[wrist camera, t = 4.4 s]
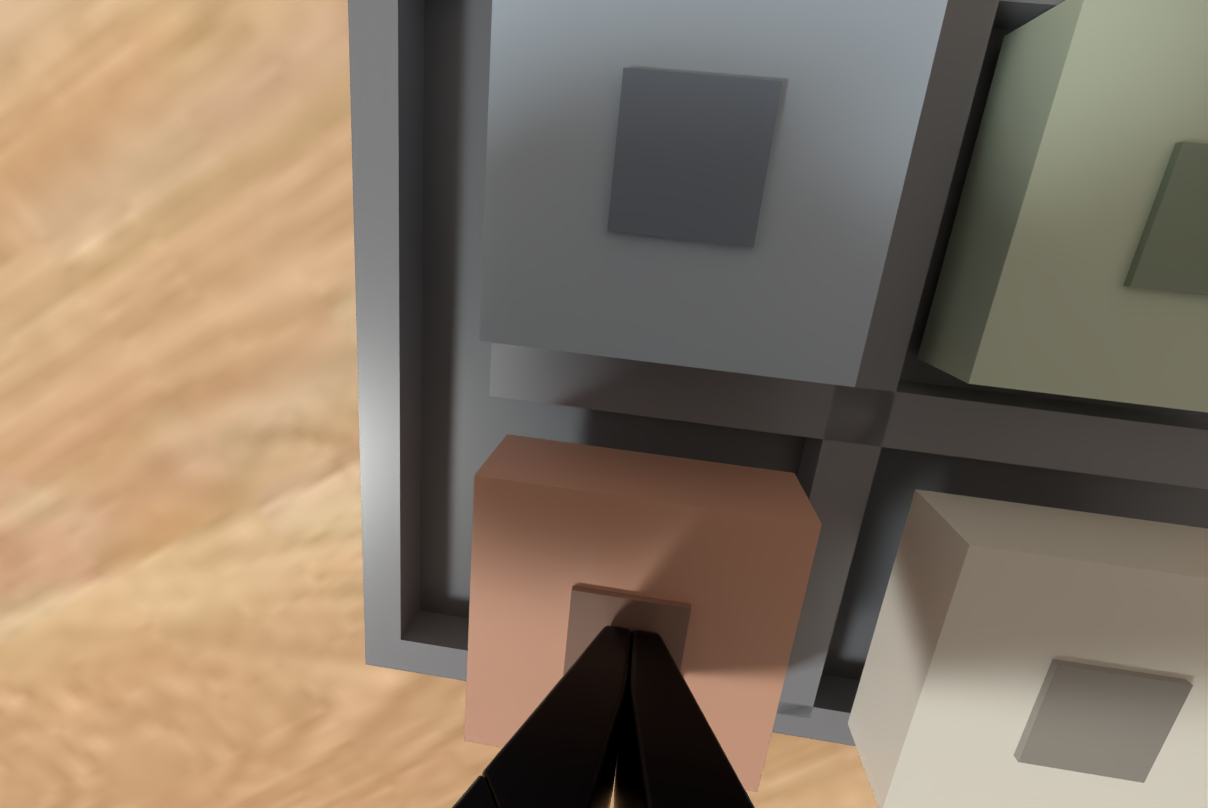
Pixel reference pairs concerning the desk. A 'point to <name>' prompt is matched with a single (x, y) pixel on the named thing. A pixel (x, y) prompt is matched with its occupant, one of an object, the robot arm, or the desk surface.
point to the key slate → (699, 177)
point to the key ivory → (1037, 661)
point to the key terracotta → (635, 580)
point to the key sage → (1086, 212)
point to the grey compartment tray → (688, 372)
